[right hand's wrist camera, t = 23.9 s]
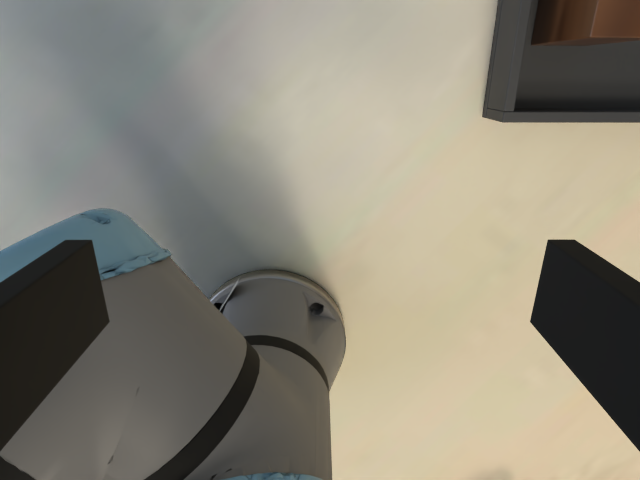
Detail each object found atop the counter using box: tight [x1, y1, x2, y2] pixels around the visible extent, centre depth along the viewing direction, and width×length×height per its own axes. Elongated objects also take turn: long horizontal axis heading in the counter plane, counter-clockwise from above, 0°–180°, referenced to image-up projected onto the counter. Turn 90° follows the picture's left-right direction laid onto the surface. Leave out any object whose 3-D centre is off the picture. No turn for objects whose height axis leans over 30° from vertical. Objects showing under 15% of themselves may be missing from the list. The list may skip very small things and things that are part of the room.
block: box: [531, 0, 640, 46], centre depth 29 cm, size 4×4×8 cm
